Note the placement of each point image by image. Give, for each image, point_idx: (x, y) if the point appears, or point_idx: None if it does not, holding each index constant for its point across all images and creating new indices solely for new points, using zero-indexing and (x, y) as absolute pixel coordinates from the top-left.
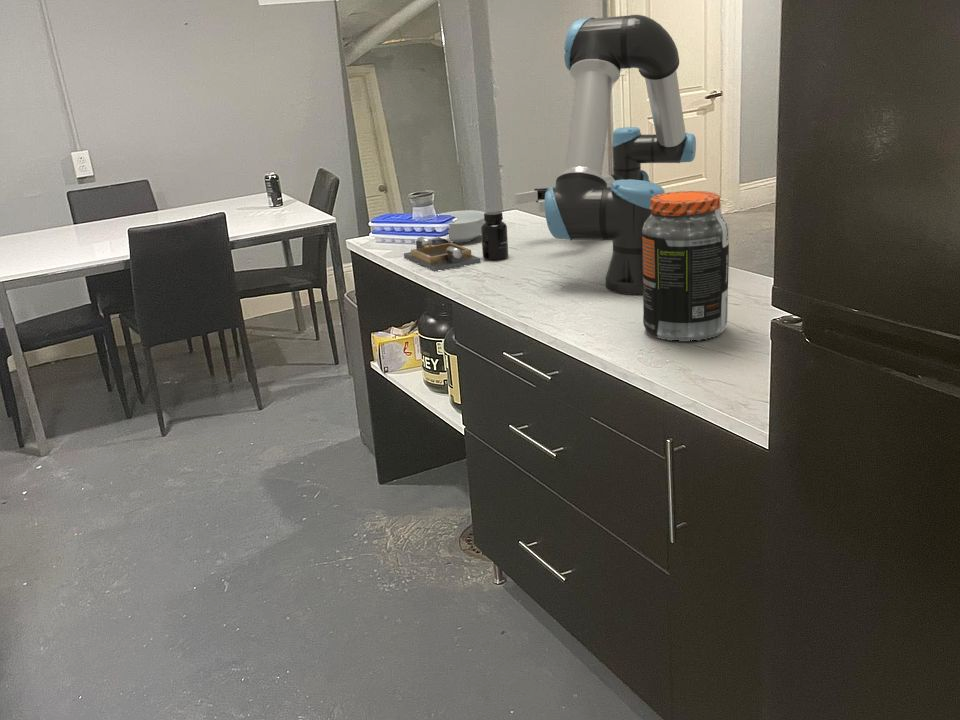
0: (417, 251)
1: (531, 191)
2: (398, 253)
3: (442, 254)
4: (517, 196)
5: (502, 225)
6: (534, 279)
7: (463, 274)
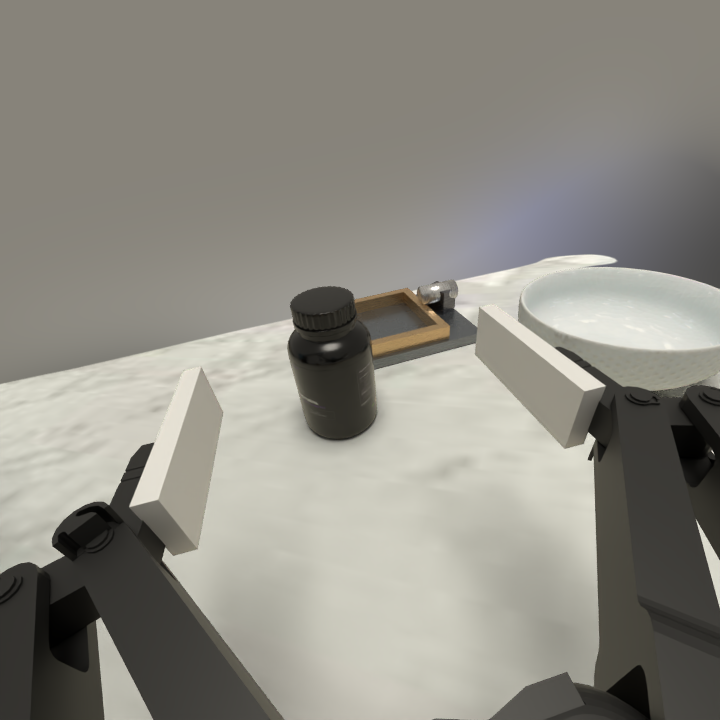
0: (388, 293)
1: (567, 361)
2: (470, 292)
3: None
4: (483, 322)
5: (293, 348)
6: (64, 466)
7: (246, 358)
